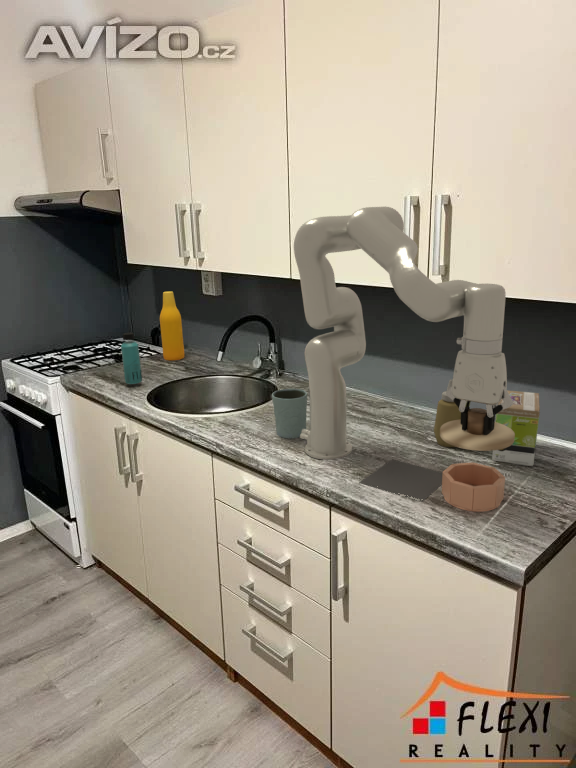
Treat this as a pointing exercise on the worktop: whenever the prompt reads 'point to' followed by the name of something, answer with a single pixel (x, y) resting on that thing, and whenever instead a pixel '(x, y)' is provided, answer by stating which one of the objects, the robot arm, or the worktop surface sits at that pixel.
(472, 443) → the lid
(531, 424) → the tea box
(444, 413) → the squeeze bottle
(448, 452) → the worktop surface
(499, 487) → the bowl
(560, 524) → the worktop surface
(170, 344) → the beer bottle
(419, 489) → the mat
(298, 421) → the blue-green cup
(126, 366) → the beverage bottle
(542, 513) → the worktop surface
